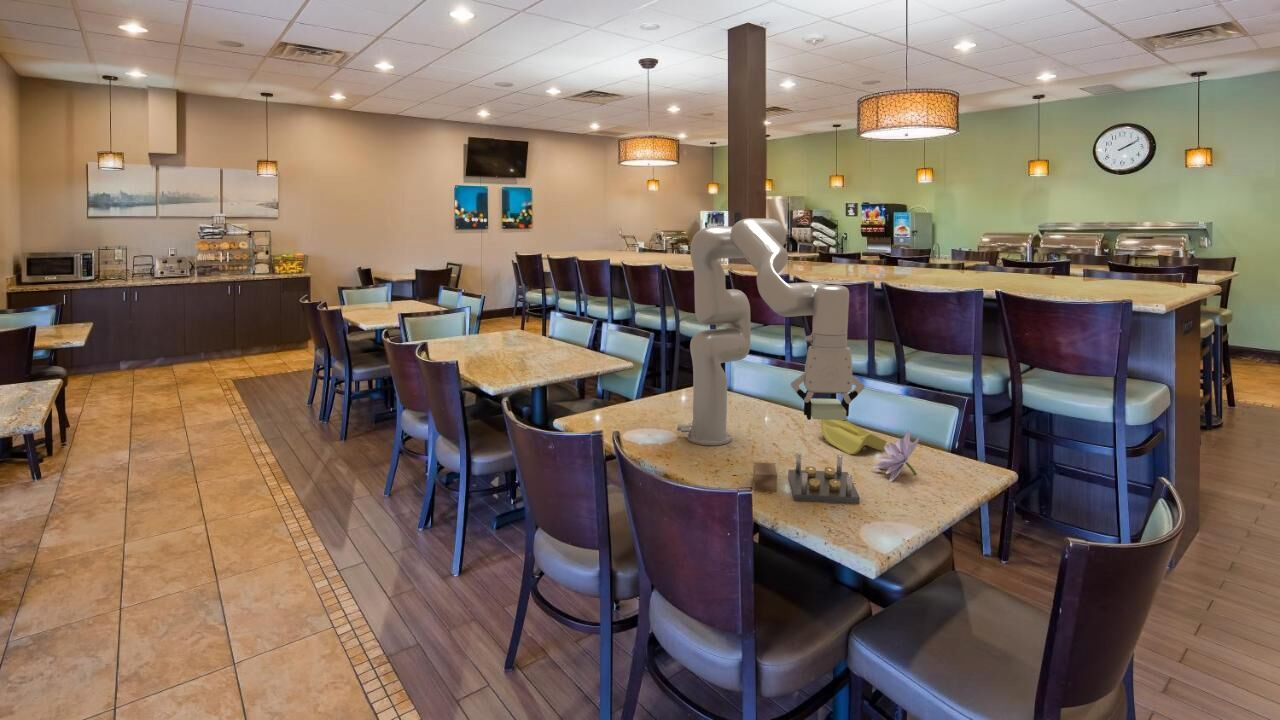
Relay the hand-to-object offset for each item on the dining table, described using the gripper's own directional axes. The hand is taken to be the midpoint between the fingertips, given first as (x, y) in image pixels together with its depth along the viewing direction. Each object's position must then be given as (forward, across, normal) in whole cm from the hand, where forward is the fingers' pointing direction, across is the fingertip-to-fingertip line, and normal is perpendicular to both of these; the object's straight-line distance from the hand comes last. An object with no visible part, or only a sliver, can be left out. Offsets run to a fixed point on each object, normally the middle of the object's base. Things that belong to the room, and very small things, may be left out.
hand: (825, 418), depth 155 cm
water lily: (+17, +19, +13) cm, 29 cm away
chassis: (+17, 0, 0) cm, 17 cm away
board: (-1, 0, 0) cm, 1 cm away
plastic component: (+17, +12, +36) cm, 42 cm away
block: (+17, -13, +1) cm, 21 cm away
